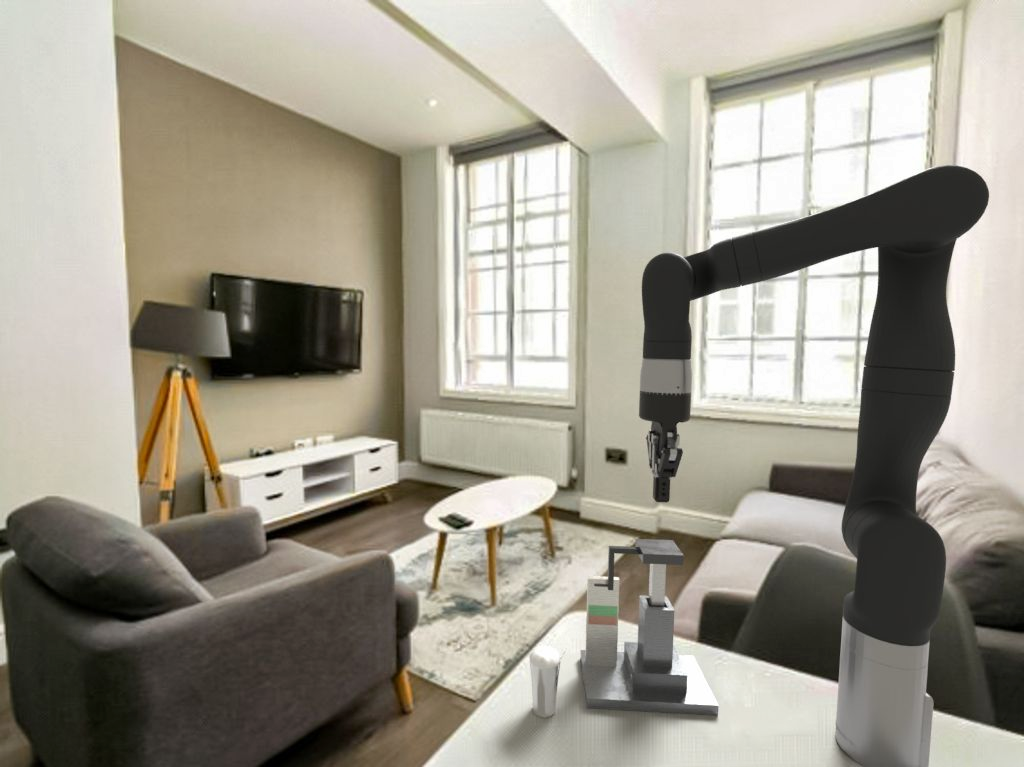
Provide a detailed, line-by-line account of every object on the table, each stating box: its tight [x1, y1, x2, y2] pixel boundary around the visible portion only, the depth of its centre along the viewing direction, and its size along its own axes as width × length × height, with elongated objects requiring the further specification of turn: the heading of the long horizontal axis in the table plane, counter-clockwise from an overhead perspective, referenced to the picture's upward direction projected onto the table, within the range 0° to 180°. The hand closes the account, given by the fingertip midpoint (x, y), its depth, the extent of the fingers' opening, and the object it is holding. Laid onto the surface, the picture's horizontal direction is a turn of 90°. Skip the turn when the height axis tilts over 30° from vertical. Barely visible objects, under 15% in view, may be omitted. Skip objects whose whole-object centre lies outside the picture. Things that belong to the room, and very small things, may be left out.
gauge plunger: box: [607, 538, 685, 607], centre depth 79 cm, size 10×6×12 cm, turn 87°
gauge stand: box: [580, 575, 719, 716], centre depth 79 cm, size 19×12×16 cm, turn 87°
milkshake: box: [529, 645, 567, 719], centre depth 73 cm, size 4×5×10 cm
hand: (660, 500), depth 78 cm, fingers closed
